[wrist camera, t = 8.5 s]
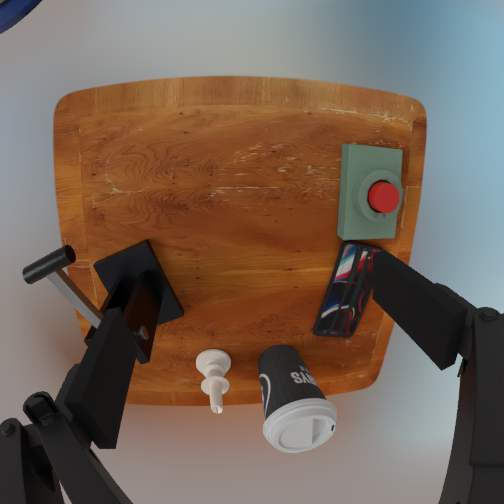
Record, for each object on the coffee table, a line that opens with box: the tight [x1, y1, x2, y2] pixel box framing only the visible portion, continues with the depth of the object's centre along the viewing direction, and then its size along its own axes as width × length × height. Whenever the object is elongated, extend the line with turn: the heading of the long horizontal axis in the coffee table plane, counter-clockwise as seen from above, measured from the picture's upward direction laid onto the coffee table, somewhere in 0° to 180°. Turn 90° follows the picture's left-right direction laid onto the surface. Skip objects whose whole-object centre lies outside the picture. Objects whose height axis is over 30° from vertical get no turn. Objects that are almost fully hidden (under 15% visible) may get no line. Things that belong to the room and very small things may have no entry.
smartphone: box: [313, 241, 383, 337], centre depth 43 cm, size 7×1×15 cm
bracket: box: [84, 239, 184, 365], centre depth 32 cm, size 11×8×14 cm
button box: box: [337, 144, 403, 240], centre depth 37 cm, size 12×8×4 cm, turn 0°
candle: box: [196, 349, 231, 413], centre depth 40 cm, size 5×5×10 cm
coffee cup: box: [258, 345, 337, 453], centre depth 39 cm, size 10×10×15 cm
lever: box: [22, 245, 104, 329], centre depth 24 cm, size 13×5×2 cm, turn 20°
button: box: [368, 182, 399, 213], centre depth 35 cm, size 4×4×2 cm
